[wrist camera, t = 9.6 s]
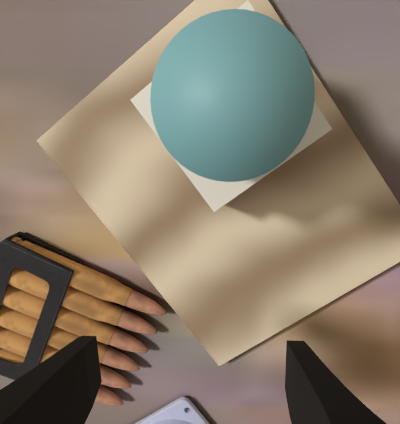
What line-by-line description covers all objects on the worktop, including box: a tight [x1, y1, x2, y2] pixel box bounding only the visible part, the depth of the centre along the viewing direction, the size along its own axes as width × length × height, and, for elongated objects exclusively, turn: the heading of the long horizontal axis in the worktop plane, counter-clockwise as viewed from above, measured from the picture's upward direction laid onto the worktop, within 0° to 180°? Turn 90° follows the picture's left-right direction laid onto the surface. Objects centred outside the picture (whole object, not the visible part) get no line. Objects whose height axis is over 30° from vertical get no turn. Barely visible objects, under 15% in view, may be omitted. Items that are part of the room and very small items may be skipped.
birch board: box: [37, 0, 400, 366], centre depth 20 cm, size 20×16×1 cm
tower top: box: [131, 0, 332, 212], centre depth 14 cm, size 6×6×3 cm
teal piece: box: [150, 9, 315, 182], centre depth 11 cm, size 4×4×4 cm
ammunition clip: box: [0, 232, 166, 406], centre depth 23 cm, size 11×2×12 cm
